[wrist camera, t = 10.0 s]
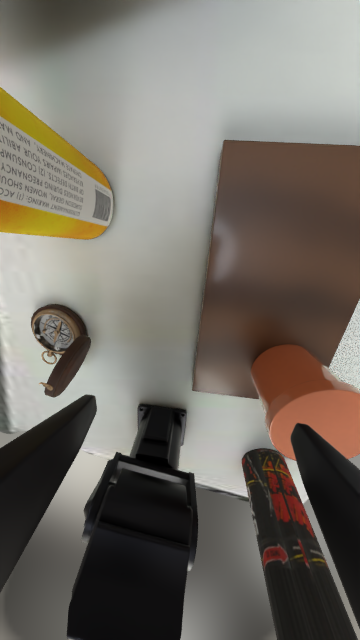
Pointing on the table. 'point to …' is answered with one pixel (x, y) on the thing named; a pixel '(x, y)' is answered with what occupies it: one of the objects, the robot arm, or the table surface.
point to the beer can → (47, 180)
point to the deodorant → (292, 555)
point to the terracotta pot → (305, 399)
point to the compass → (60, 344)
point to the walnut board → (278, 258)
